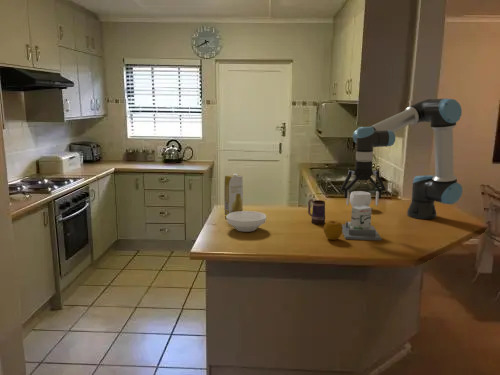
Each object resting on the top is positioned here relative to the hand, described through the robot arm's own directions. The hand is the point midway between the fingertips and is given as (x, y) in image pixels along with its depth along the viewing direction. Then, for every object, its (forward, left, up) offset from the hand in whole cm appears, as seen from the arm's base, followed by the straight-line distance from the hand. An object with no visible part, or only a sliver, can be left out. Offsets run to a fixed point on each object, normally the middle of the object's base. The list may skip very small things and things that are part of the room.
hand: (362, 204), depth 191 cm
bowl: (+55, +1, -14) cm, 57 cm away
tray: (0, 0, -14) cm, 14 cm away
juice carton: (+65, -24, -14) cm, 71 cm away
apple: (+14, +11, -14) cm, 23 cm away
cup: (-8, -51, -14) cm, 53 cm away
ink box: (0, 0, -13) cm, 13 cm away
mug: (+20, -17, -14) cm, 30 cm away
